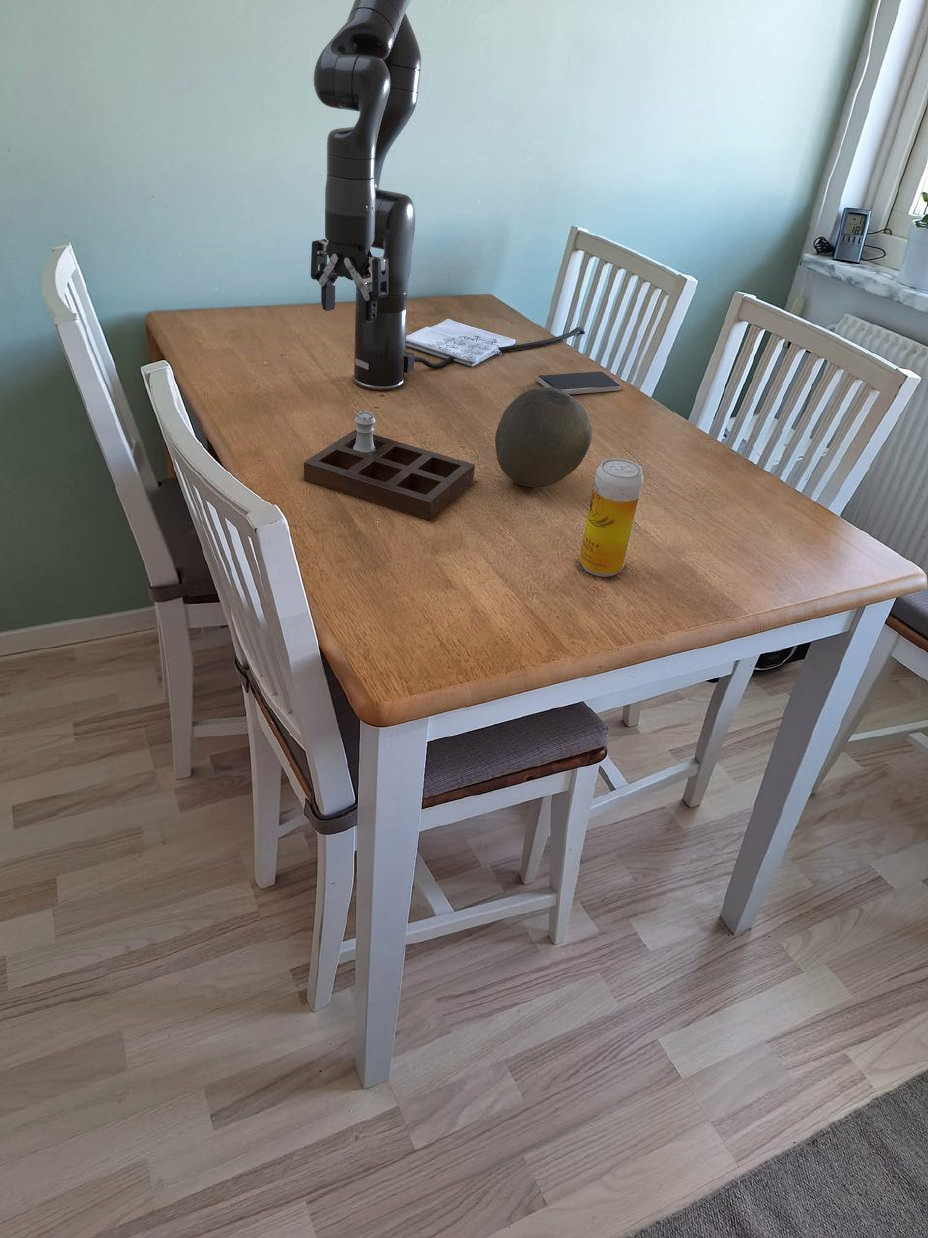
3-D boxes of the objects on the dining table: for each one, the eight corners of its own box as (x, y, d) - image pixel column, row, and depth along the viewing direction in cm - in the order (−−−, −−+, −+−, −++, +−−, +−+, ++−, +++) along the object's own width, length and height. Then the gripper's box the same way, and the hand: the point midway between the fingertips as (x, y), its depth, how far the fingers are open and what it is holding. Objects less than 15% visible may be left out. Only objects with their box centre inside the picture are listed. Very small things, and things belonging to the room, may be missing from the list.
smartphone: (622, 385, 176) (556, 390, 170) (621, 391, 177) (555, 396, 171) (601, 370, 182) (537, 375, 176) (600, 376, 183) (536, 380, 177)
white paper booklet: (395, 345, 187) (396, 334, 185) (448, 323, 201) (448, 314, 200) (473, 369, 179) (474, 358, 178) (521, 345, 194) (522, 335, 192)
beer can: (574, 554, 124) (593, 455, 115) (617, 555, 125) (639, 457, 116) (582, 578, 119) (603, 476, 110) (627, 579, 120) (650, 479, 111)
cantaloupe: (519, 510, 133) (533, 415, 124) (475, 469, 143) (485, 378, 134) (597, 496, 139) (615, 405, 130) (550, 458, 149) (564, 370, 140)
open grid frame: (355, 445, 146) (355, 428, 144) (473, 481, 139) (475, 464, 137) (303, 480, 135) (303, 461, 133) (428, 520, 128) (430, 502, 126)
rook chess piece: (373, 470, 139) (375, 422, 135) (346, 465, 140) (346, 417, 135) (381, 458, 143) (383, 411, 138) (354, 453, 143) (355, 406, 139)
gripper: (402, 214, 134) (397, 322, 144) (332, 196, 140) (331, 301, 150) (369, 220, 129) (366, 332, 138) (298, 201, 135) (299, 309, 145)
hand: (348, 316), depth 144 cm, fingers open, 8 cm apart
